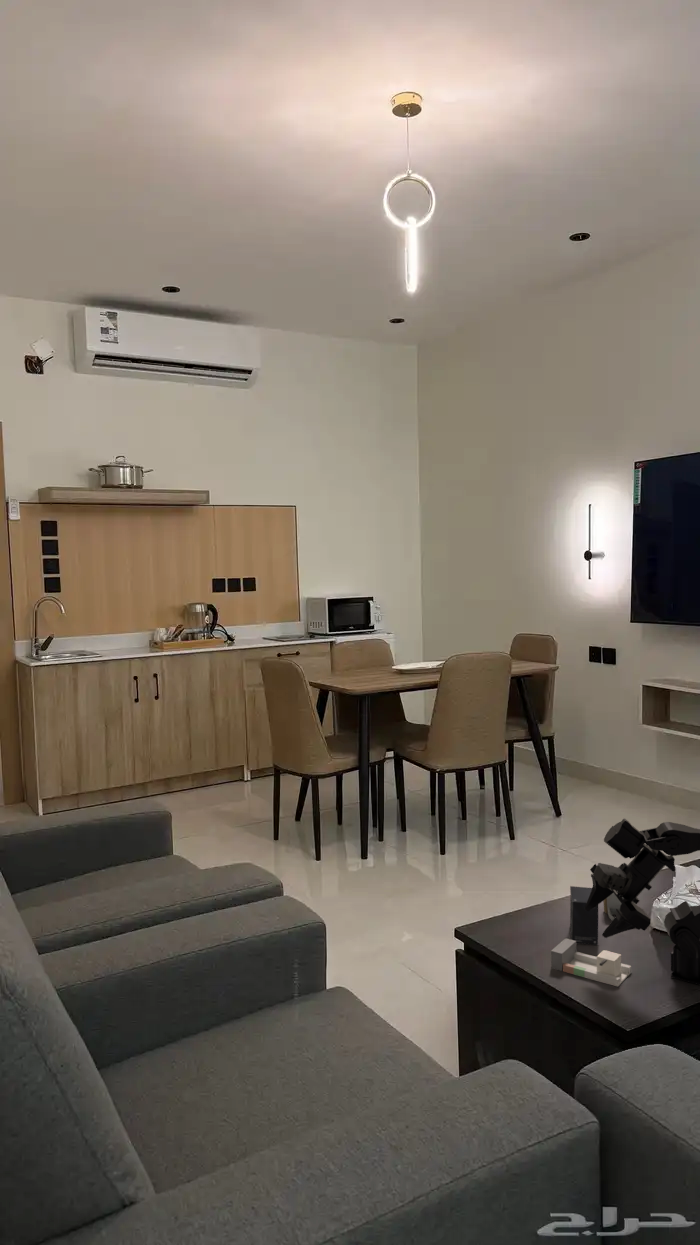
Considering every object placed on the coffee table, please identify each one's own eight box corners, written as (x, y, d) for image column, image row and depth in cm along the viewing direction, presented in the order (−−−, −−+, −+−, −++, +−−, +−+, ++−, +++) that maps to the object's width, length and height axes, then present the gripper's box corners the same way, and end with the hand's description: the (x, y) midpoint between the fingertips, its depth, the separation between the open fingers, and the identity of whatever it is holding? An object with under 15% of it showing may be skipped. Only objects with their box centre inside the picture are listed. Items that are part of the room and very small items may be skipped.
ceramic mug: (602, 907, 230) (602, 879, 229) (634, 909, 228) (634, 880, 227) (604, 924, 220) (604, 894, 219) (638, 926, 218) (638, 896, 217)
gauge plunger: (621, 972, 192) (621, 954, 192) (609, 984, 187) (609, 966, 187) (603, 967, 195) (603, 949, 194) (591, 979, 189) (591, 961, 189)
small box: (599, 946, 207) (599, 902, 206) (571, 944, 208) (571, 901, 207) (596, 928, 217) (596, 886, 216) (569, 926, 218) (569, 885, 218)
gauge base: (631, 972, 193) (631, 954, 193) (618, 986, 187) (618, 968, 186) (565, 955, 202) (565, 938, 202) (551, 968, 196) (551, 950, 196)
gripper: (597, 831, 197) (553, 882, 199) (636, 879, 180) (587, 934, 182) (630, 854, 201) (586, 903, 203) (672, 903, 183) (623, 957, 185)
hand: (594, 923), depth 193 cm, fingers open, 9 cm apart
